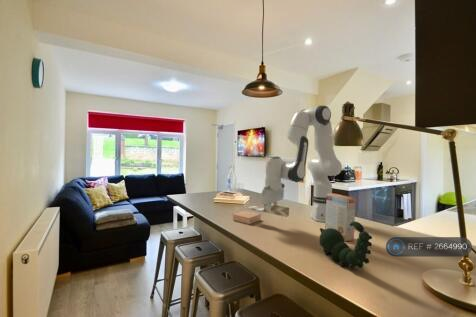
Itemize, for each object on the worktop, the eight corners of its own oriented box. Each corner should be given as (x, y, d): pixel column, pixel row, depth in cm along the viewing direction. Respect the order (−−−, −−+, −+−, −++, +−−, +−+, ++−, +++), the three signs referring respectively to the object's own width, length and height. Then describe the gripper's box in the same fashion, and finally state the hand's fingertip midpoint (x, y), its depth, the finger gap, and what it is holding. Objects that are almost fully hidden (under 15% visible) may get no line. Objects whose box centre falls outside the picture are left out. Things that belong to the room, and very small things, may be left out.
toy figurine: (373, 278, 86) (326, 245, 109) (380, 227, 84) (331, 204, 107) (352, 282, 83) (309, 247, 106) (359, 229, 80) (313, 205, 104)
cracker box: (354, 240, 118) (356, 198, 117) (344, 242, 115) (347, 198, 115) (333, 231, 131) (335, 192, 130) (324, 232, 128) (326, 193, 128)
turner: (289, 215, 133) (290, 207, 132) (284, 217, 128) (285, 209, 128) (253, 207, 147) (253, 199, 147) (247, 208, 142) (248, 201, 142)
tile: (260, 213, 148) (244, 210, 155) (249, 218, 138) (233, 214, 145) (260, 220, 148) (244, 216, 155) (249, 225, 138) (232, 220, 145)
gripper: (268, 188, 125) (267, 214, 126) (286, 184, 142) (285, 207, 142) (258, 186, 129) (257, 212, 130) (276, 183, 145) (275, 206, 146)
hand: (271, 210), depth 136 cm, fingers closed on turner, 3 cm apart
